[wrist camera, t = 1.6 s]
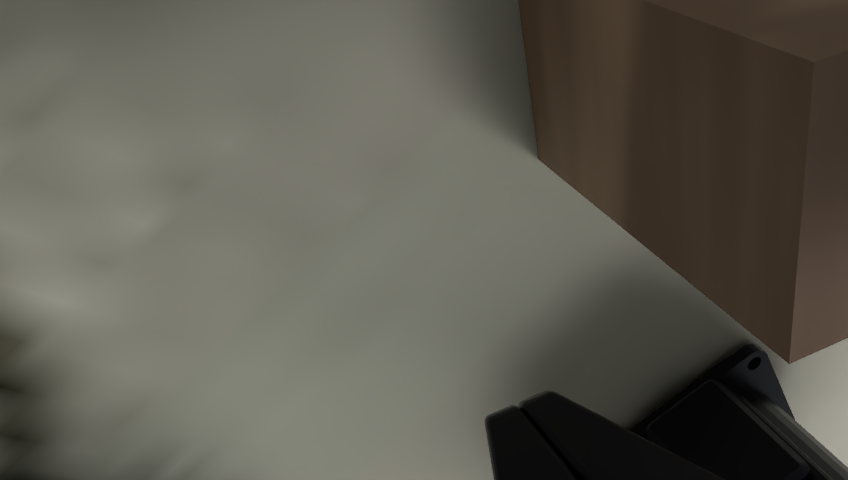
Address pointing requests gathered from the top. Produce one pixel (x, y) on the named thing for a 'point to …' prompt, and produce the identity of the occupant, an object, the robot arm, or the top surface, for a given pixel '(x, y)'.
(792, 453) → the robot arm
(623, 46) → the domino
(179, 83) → the top surface
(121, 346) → the top surface
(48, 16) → the top surface
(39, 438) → the top surface
